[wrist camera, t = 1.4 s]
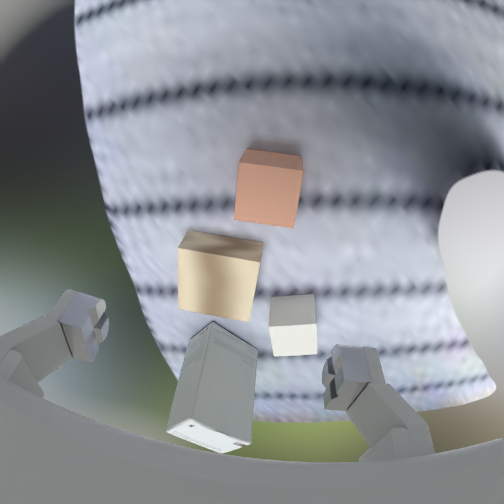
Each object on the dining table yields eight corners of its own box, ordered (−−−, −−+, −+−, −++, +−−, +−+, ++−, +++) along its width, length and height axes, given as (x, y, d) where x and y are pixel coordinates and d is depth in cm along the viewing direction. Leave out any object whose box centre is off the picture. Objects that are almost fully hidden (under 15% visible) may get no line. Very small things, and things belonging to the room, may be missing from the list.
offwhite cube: (313, 293, 35) (316, 323, 31) (315, 323, 38) (317, 353, 34) (271, 296, 36) (268, 326, 32) (275, 326, 39) (273, 356, 34)
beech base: (263, 241, 33) (260, 262, 29) (252, 298, 37) (249, 322, 33) (189, 228, 33) (178, 247, 29) (187, 286, 37) (178, 308, 34)
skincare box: (189, 338, 42) (159, 430, 29) (214, 318, 39) (186, 419, 26) (235, 367, 44) (219, 456, 31) (262, 350, 41) (251, 447, 29)
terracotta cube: (300, 155, 27) (303, 171, 23) (292, 204, 30) (293, 228, 26) (246, 148, 27) (239, 162, 23) (242, 197, 30) (234, 219, 26)
